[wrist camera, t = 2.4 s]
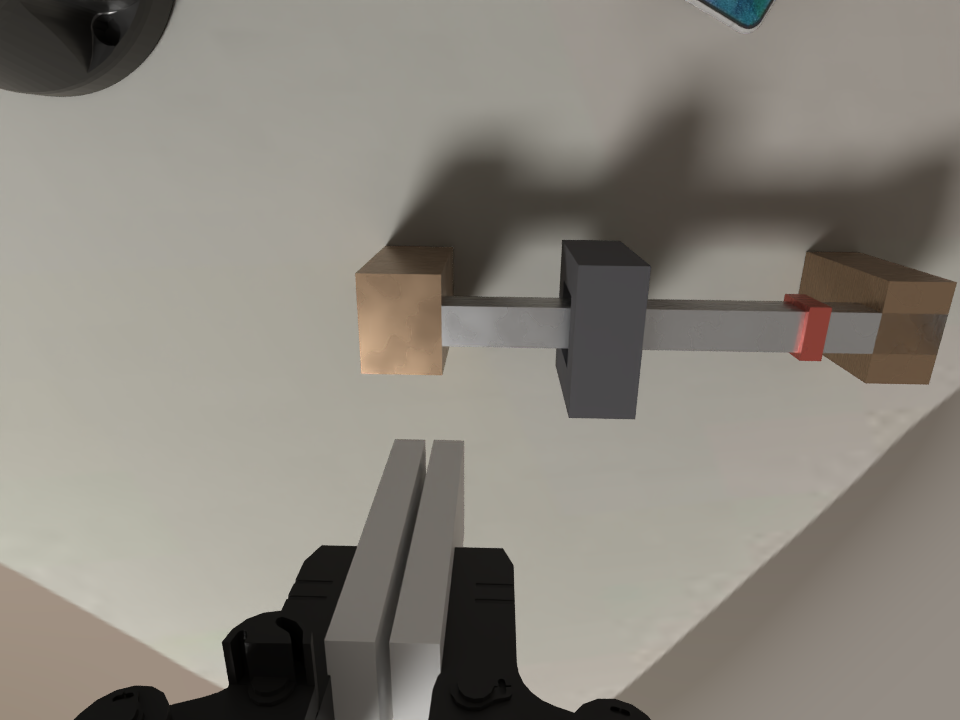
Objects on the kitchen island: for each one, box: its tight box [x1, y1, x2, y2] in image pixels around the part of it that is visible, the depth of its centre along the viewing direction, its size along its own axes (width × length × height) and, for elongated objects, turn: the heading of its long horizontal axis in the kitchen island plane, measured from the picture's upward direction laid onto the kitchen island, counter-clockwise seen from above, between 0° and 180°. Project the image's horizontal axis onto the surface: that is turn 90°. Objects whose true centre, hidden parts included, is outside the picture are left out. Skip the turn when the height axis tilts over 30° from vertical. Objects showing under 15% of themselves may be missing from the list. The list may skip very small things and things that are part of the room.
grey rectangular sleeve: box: [556, 240, 651, 419], centre depth 30 cm, size 7×3×7 cm, turn 179°
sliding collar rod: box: [355, 246, 957, 384], centre depth 32 cm, size 5×28×8 cm, turn 90°
